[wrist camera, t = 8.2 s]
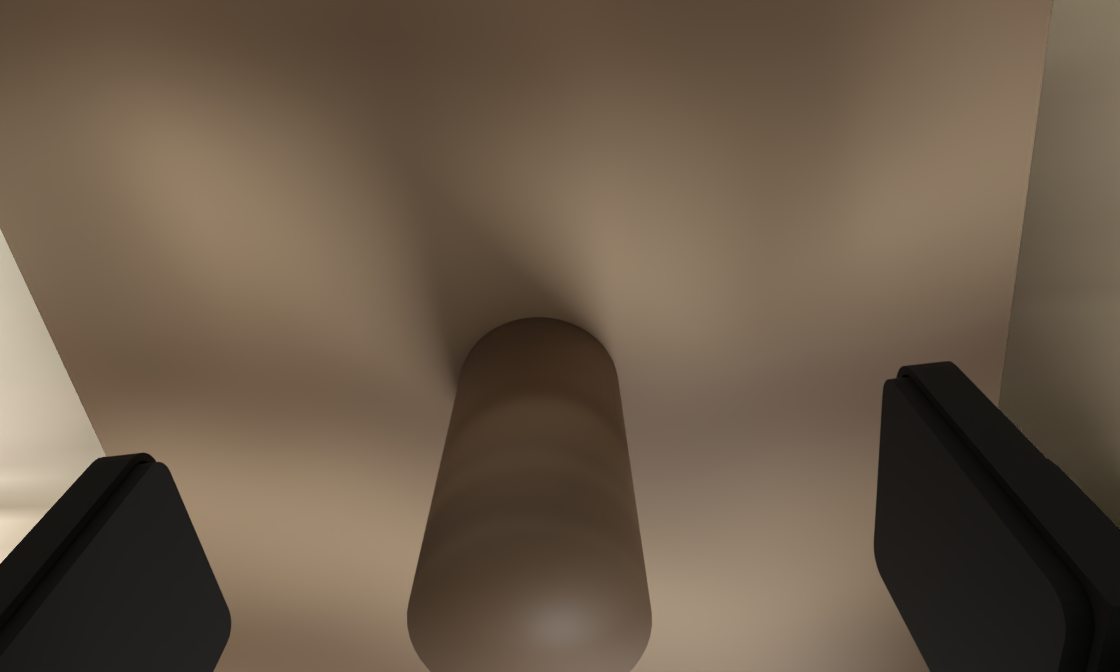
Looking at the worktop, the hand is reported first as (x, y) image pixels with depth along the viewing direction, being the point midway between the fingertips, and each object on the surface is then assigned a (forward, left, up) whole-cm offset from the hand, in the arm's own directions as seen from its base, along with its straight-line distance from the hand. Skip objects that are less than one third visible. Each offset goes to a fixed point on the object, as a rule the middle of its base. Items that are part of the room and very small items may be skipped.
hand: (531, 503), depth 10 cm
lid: (0, 0, -4) cm, 4 cm away
